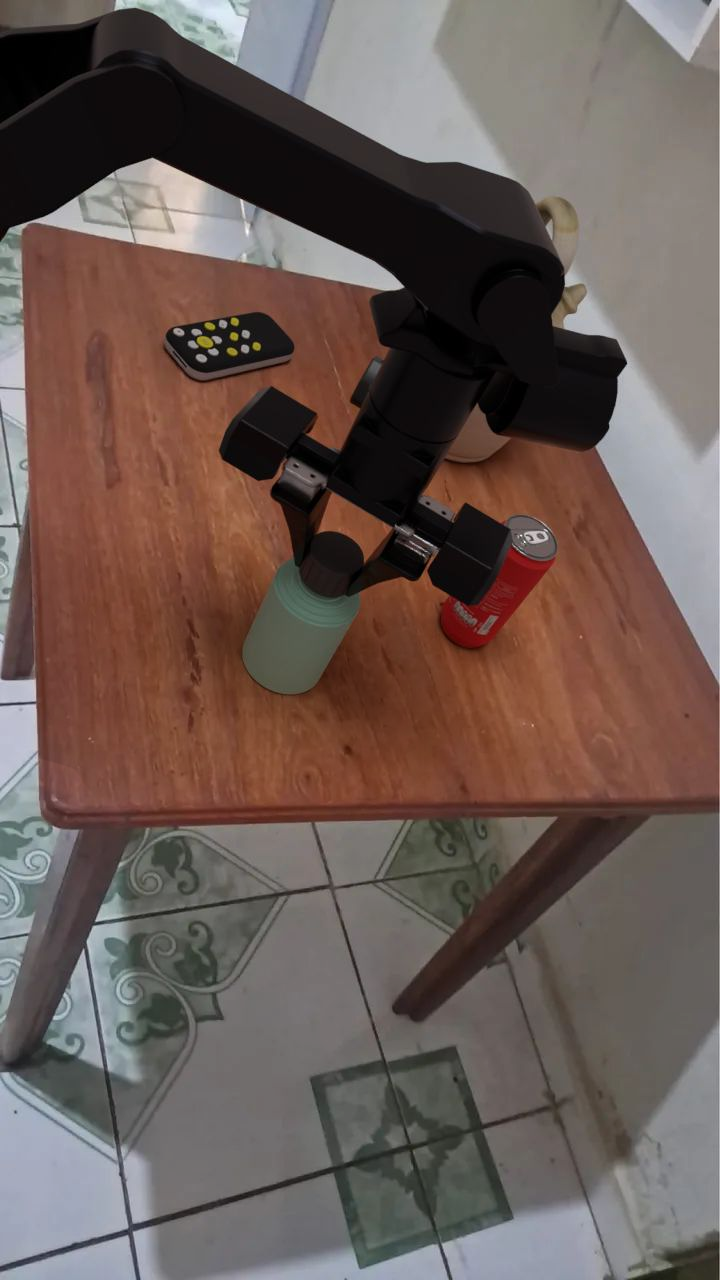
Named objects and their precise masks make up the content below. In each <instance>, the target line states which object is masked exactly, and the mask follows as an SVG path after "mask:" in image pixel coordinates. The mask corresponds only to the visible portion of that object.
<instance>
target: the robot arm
mask: <svg viewBox="0 0 720 1280" xmlns="http://www.w3.org/2000/svg"><path fill="white" fill-rule="evenodd" d="M151 159H154V160H155V161H158V162H160V163H162V164H165V165H167V166H169V167H171V168H173V169H176V170H178V171H180V172H182V173H184V174H186V175H188V176H191V177H192V178H195V179H197V180H199V181H201V182H203V183H205V184H208V185H209V186H212V187H214V188H216V189H218V190H221V191H222V192H225V193H227V194H230V195H231V196H233V197H235V198H238V199H240V200H242V201H244V202H246V203H248V204H251V205H253V206H255V207H256V208H259V209H261V210H263V211H264V212H268V213H270V214H272V215H275V216H276V217H279V218H280V219H283V220H285V221H287V222H289V223H291V224H294V225H296V226H297V227H300V228H302V229H305V230H307V231H308V232H311V233H313V234H315V235H317V236H320V237H321V238H324V239H326V240H328V241H329V242H332V243H334V244H337V245H339V246H341V247H343V248H345V249H347V250H349V251H352V252H354V253H356V254H358V255H360V256H362V257H364V258H367V259H369V260H371V261H372V262H374V263H376V264H377V265H378V266H380V267H381V268H382V269H384V270H385V271H387V273H389V274H390V275H392V276H393V277H394V278H395V279H396V280H397V281H398V282H399V283H400V284H401V285H402V286H403V287H401V288H399V289H390V290H389V289H388V290H384V291H382V292H379V293H376V294H373V295H371V297H370V298H369V301H368V304H369V308H370V313H371V316H372V320H373V324H374V328H375V333H376V337H377V340H378V344H379V345H380V346H383V347H386V348H388V351H387V353H386V354H385V357H384V358H382V357H380V356H378V355H375V356H374V357H372V359H371V361H370V362H369V364H368V365H367V367H366V369H365V370H364V372H363V374H362V376H361V378H360V379H359V380H358V383H357V384H356V386H355V388H354V390H353V392H352V394H351V396H350V399H349V402H350V404H351V405H353V406H355V407H356V408H358V409H359V411H358V413H357V415H356V416H355V419H354V420H353V423H352V425H351V427H350V429H349V431H348V433H347V436H346V437H345V440H344V442H343V444H342V446H341V448H340V449H338V448H337V447H334V446H331V447H327V446H326V445H324V444H323V443H321V442H320V441H318V440H316V439H314V438H313V437H311V436H309V435H308V434H310V433H312V431H313V429H314V427H315V425H316V423H317V420H318V418H319V416H318V412H316V411H315V410H312V409H311V408H310V407H308V406H306V405H304V404H303V403H301V402H299V401H297V400H296V399H294V398H292V396H289V395H288V394H286V393H284V392H283V391H281V390H279V389H277V387H275V386H273V385H270V386H267V387H263V388H261V389H259V390H258V391H257V392H256V393H255V394H254V395H253V397H251V399H250V400H249V401H248V402H247V403H246V404H245V405H244V406H243V407H242V408H241V409H240V410H239V411H238V412H237V414H236V415H235V416H234V417H233V418H232V419H231V421H230V422H229V425H227V428H226V430H225V431H224V433H223V436H222V438H221V439H222V440H221V442H220V445H219V447H218V452H219V455H220V458H221V460H222V461H224V462H225V463H227V464H229V465H230V466H232V467H234V468H235V469H237V470H239V471H240V472H242V473H244V475H245V474H246V475H247V476H249V477H251V478H252V479H254V480H256V481H257V482H260V481H262V482H263V481H268V480H273V479H274V478H275V477H276V475H277V474H278V472H279V469H280V467H281V470H282V472H281V474H280V476H279V477H278V479H276V480H275V482H274V484H273V485H272V486H271V488H270V490H269V496H270V498H271V499H272V500H273V501H274V502H276V503H278V504H279V505H280V507H281V510H282V513H283V516H284V519H285V523H286V526H287V529H288V532H289V536H290V543H291V550H292V556H293V557H292V558H294V563H295V566H297V567H298V568H299V567H300V565H301V564H302V562H303V560H304V558H305V555H306V552H307V550H308V547H309V545H310V542H311V540H312V538H313V537H314V536H315V535H317V534H318V533H319V531H320V527H321V524H322V521H323V518H324V515H325V512H326V510H327V506H328V503H329V500H330V498H331V496H332V493H333V494H334V495H336V496H338V497H339V498H342V500H345V501H346V502H348V503H350V504H351V505H353V506H354V507H357V508H358V509H359V510H362V511H363V512H365V513H366V514H368V515H369V516H371V517H374V518H375V519H376V520H378V521H380V522H381V523H383V524H385V525H387V526H388V527H390V528H391V530H389V532H388V534H387V535H386V536H385V537H384V538H383V540H382V541H381V542H380V543H379V544H378V545H377V546H376V548H375V549H374V551H373V552H372V553H371V554H370V556H368V558H367V559H366V560H365V561H364V564H363V567H362V568H361V570H360V571H359V573H358V574H357V576H356V577H355V578H354V580H353V581H352V582H351V584H350V585H349V586H348V588H347V592H346V594H345V595H346V596H347V597H351V596H353V595H355V594H357V593H359V594H360V592H363V591H365V590H367V589H369V588H371V587H373V586H376V585H378V584H381V583H384V582H385V583H386V582H388V581H391V580H395V579H399V578H403V579H406V580H407V581H409V582H412V583H413V582H417V581H419V580H420V579H421V577H422V575H423V574H424V572H425V570H426V572H427V575H428V577H429V579H430V582H431V585H432V586H434V587H435V588H437V589H439V590H440V591H442V592H444V593H445V594H447V595H448V596H449V595H450V596H452V597H454V598H455V599H457V600H459V601H460V602H462V603H464V604H465V605H467V606H474V605H479V603H480V602H481V601H482V599H483V598H484V597H485V595H486V594H487V593H488V591H489V590H490V589H491V587H492V585H493V584H494V582H495V580H496V579H497V577H498V574H499V572H500V570H501V567H502V565H503V563H504V561H505V558H506V556H507V554H508V551H509V549H510V547H511V545H512V542H513V539H512V534H511V529H510V528H508V527H506V526H505V525H503V524H501V522H499V521H498V520H497V519H495V518H493V517H491V516H489V515H488V514H486V513H484V512H483V511H481V510H479V509H478V508H477V507H474V506H472V505H471V504H470V503H468V502H463V504H462V505H461V507H460V508H459V510H458V511H457V513H455V511H454V510H453V509H451V508H449V507H448V506H446V505H444V504H443V503H441V502H440V501H438V500H436V499H434V498H433V497H431V496H429V495H424V493H425V492H426V490H427V489H428V487H429V486H430V484H431V483H432V481H433V479H434V478H435V475H436V474H437V472H438V470H439V469H440V467H441V466H442V464H443V462H444V461H445V460H446V459H445V457H446V455H447V453H448V451H449V449H450V448H451V446H452V444H453V443H454V441H455V439H456V438H457V436H458V434H459V433H460V431H461V429H462V428H463V426H464V424H465V423H466V421H467V419H468V418H469V416H470V414H471V413H472V411H473V409H474V408H475V406H476V404H477V403H478V406H479V408H480V410H481V412H483V413H484V414H485V415H486V421H487V424H488V426H489V428H490V429H491V431H492V432H493V433H495V434H496V435H500V436H505V437H510V438H511V439H514V440H520V441H525V442H529V443H535V444H540V445H544V446H549V447H554V448H558V449H559V448H560V449H563V450H568V451H574V452H580V453H583V452H586V451H590V450H592V449H593V448H595V447H596V446H598V444H599V443H600V442H601V441H602V440H604V438H605V437H606V435H607V433H609V430H610V426H611V425H610V422H611V421H612V417H613V415H614V411H615V408H616V406H617V405H616V403H617V398H618V394H619V392H618V391H619V376H620V375H621V374H622V372H623V371H624V369H625V368H626V367H627V365H628V360H627V358H626V356H625V354H624V352H623V350H622V348H621V345H620V343H619V341H618V339H616V338H614V337H610V336H605V335H600V334H585V333H581V332H578V331H574V330H570V329H566V328H564V329H562V328H559V327H555V326H553V323H552V313H553V312H554V310H555V308H556V307H557V305H558V304H559V302H560V301H561V297H562V294H563V290H564V287H566V276H565V274H564V271H565V270H564V266H563V264H562V262H561V260H560V257H559V255H558V253H557V251H556V249H555V246H554V244H553V242H552V237H551V235H550V233H549V231H548V229H547V226H546V227H545V224H544V222H543V220H542V218H541V215H540V213H539V211H538V209H537V207H536V203H535V200H534V198H533V196H532V195H531V193H530V191H529V190H528V189H527V188H525V187H524V185H522V184H521V183H520V182H519V181H517V180H514V179H512V178H510V177H507V176H504V175H501V174H498V173H494V172H492V171H488V170H485V169H482V168H479V167H477V166H476V167H475V166H473V165H469V164H467V163H463V162H460V161H433V162H431V161H429V162H427V161H422V160H420V159H419V160H418V159H415V158H412V157H409V156H406V155H403V154H401V153H398V152H397V151H395V150H393V149H391V148H389V147H387V146H385V145H384V144H382V143H380V142H379V141H377V140H375V139H373V138H370V137H369V136H367V135H366V134H363V133H361V132H360V131H358V130H356V129H354V128H352V127H351V126H348V125H347V124H345V123H343V122H341V121H339V120H338V119H336V118H334V117H332V116H330V115H328V114H326V113H324V112H323V111H321V110H319V109H317V108H315V107H313V106H312V105H310V104H308V103H306V102H304V101H302V100H301V99H299V98H297V97H295V96H293V95H292V94H289V93H288V92H287V91H284V90H282V89H281V88H278V87H277V86H274V85H273V84H271V83H269V82H267V81H266V80H264V79H261V78H260V77H258V76H256V75H254V74H253V73H251V72H249V71H247V70H246V69H243V68H241V67H239V66H238V65H236V64H234V63H233V62H231V61H229V60H227V59H225V58H224V57H221V56H219V55H217V54H215V53H214V52H212V51H210V50H208V49H206V48H205V47H202V46H201V45H200V44H197V43H195V42H193V40H190V39H188V38H186V37H184V36H182V35H181V34H180V33H179V32H178V31H176V30H175V29H174V28H173V27H172V26H171V25H170V24H169V23H168V22H167V21H166V20H165V19H163V18H161V16H158V15H157V14H155V13H154V12H151V11H148V10H144V9H142V8H139V7H129V8H128V7H127V8H120V9H116V10H113V11H110V12H108V13H105V14H102V15H100V16H96V17H93V18H90V19H88V20H85V21H82V22H78V23H68V24H67V23H66V24H54V25H53V24H51V25H40V26H24V27H14V28H10V29H7V30H5V31H1V32H0V243H1V242H2V241H3V239H4V238H5V237H6V235H7V233H8V232H9V230H10V229H11V228H14V227H17V226H20V225H24V224H27V223H29V222H33V221H35V220H39V219H42V218H45V217H47V216H49V215H51V214H53V213H55V212H57V211H58V210H59V209H61V208H62V207H64V206H65V205H67V204H69V203H70V202H71V201H73V200H74V199H76V198H78V197H79V196H80V195H82V194H83V193H85V192H87V190H90V189H91V188H92V187H94V186H95V185H97V184H98V183H100V182H101V181H103V180H104V179H106V178H107V177H109V176H110V175H111V174H113V173H115V172H116V171H118V170H120V169H123V168H126V167H129V166H132V165H135V164H138V163H141V162H145V161H147V160H151ZM283 462H284V463H283ZM282 463H283V465H282ZM281 465H282V466H281ZM431 558H433V560H431ZM430 561H431V562H430ZM429 562H430V564H429ZM428 565H429V566H428ZM427 566H428V567H427ZM426 568H427V569H426Z"/></svg>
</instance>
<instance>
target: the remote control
mask: <svg viewBox="0 0 720 1280" xmlns="http://www.w3.org/2000/svg"><path fill="white" fill-rule="evenodd" d="M163 341H164V343H163V344H164V347H165V350H167V352H168V353H169V354H170V355H171V357H172V358H173V359H174V360H175V361H176V363H177V364H178V365H179V367H181V368H182V370H183V371H184V372H185V373H186V374H187V375H188V376H189V377H190V378H193V379H195V380H198V381H209V380H213V379H218V378H222V377H226V376H231V375H236V374H239V373H243V372H247V371H248V372H249V371H253V370H257V369H261V368H265V367H269V366H273V365H278V364H282V363H287V362H288V361H290V360H291V359H292V357H293V354H294V352H295V344H294V341H293V340H292V338H291V337H290V336H289V335H288V334H287V333H286V332H285V331H284V329H283V328H282V327H281V326H280V325H279V324H278V323H277V322H276V321H275V320H274V319H273V317H272V316H270V315H269V314H267V313H265V312H261V311H253V312H248V313H241V314H236V315H229V316H226V317H220V318H214V319H209V320H203V321H198V322H192V323H186V324H182V325H176V326H172V327H170V328H169V329H168V330H167V331H166V333H165V336H164V340H163Z"/></svg>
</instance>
